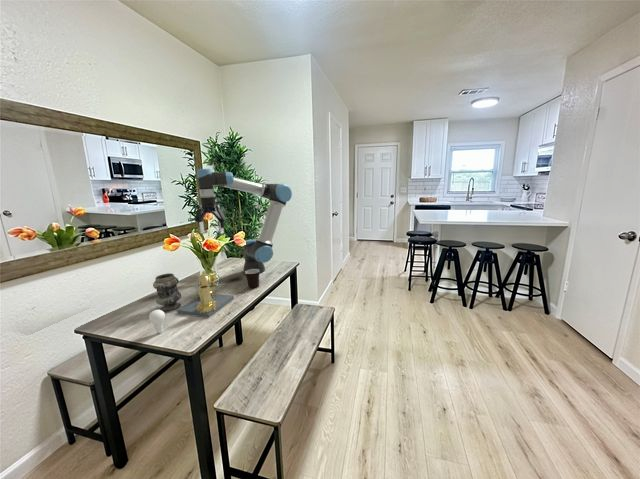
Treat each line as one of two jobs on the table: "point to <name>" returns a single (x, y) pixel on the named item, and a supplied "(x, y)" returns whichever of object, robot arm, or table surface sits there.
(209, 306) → the gear
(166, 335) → the table surface
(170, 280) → the apothecary jar
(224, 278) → the table surface
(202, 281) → the seated planet gear
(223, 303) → the carrier plate
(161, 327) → the lightbulb
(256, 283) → the coffee mug
